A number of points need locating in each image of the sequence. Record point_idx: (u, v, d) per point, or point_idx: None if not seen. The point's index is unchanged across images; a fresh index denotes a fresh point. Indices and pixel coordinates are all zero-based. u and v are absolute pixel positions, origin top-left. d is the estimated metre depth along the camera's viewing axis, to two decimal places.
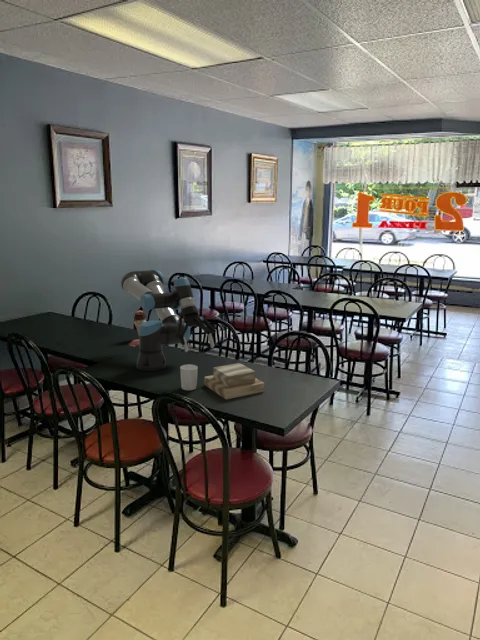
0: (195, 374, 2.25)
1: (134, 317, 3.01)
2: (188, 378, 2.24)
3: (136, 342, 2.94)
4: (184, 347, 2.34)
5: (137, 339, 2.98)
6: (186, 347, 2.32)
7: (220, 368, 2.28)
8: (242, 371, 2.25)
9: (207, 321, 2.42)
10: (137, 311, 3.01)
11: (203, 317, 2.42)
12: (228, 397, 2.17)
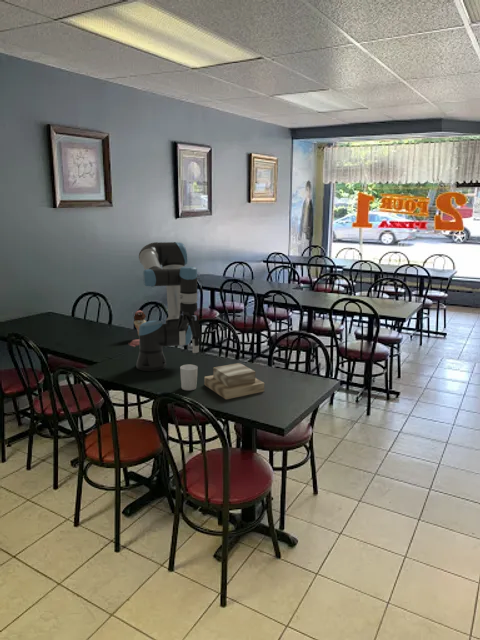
0: (195, 374, 2.25)
1: (134, 317, 3.02)
2: (188, 378, 2.24)
3: (136, 342, 2.94)
4: None
5: (137, 339, 2.98)
6: (179, 342, 2.29)
7: (220, 368, 2.28)
8: (242, 371, 2.25)
9: (193, 324, 2.15)
10: (137, 311, 3.02)
11: (192, 318, 2.16)
12: (228, 397, 2.17)
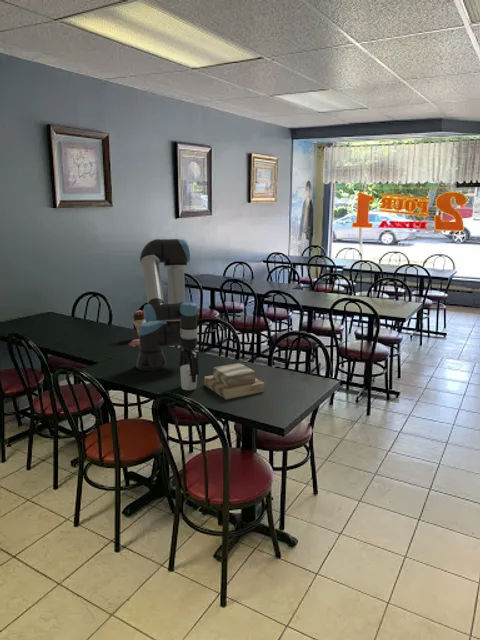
0: None
1: (134, 317, 3.02)
2: (188, 378, 2.24)
3: (136, 342, 2.95)
4: None
5: (137, 339, 2.98)
6: None
7: (220, 368, 2.28)
8: (242, 371, 2.25)
9: (192, 361, 2.20)
10: (136, 311, 3.02)
11: (191, 355, 2.20)
12: (228, 397, 2.17)
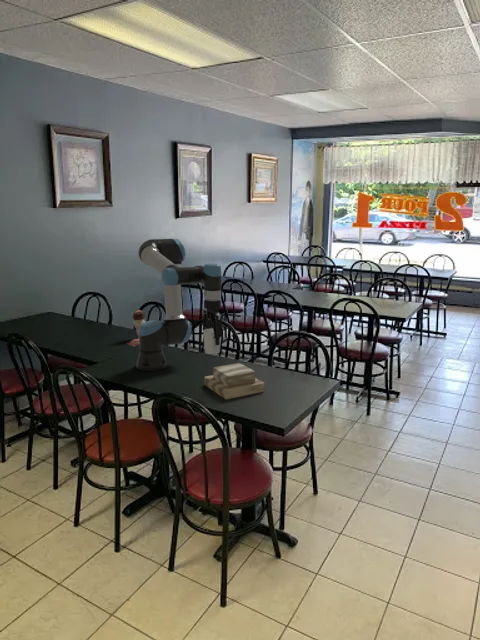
0: None
1: (133, 317, 3.02)
2: (212, 341, 2.20)
3: (136, 342, 2.95)
4: None
5: (137, 339, 2.98)
6: None
7: (220, 368, 2.28)
8: (242, 371, 2.25)
9: (216, 323, 2.16)
10: (136, 311, 3.02)
11: (215, 317, 2.16)
12: (228, 397, 2.17)
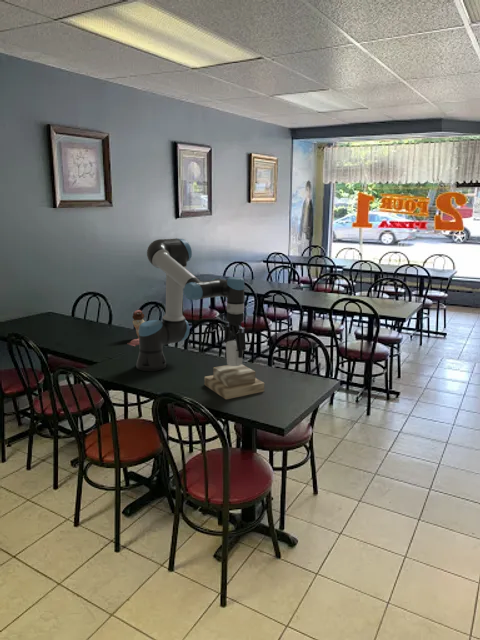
0: None
1: (133, 317, 3.02)
2: (234, 354, 2.22)
3: (136, 341, 2.95)
4: None
5: None
6: None
7: (220, 368, 2.28)
8: (242, 371, 2.25)
9: (239, 336, 2.18)
10: (136, 311, 3.02)
11: (239, 330, 2.18)
12: (228, 397, 2.17)
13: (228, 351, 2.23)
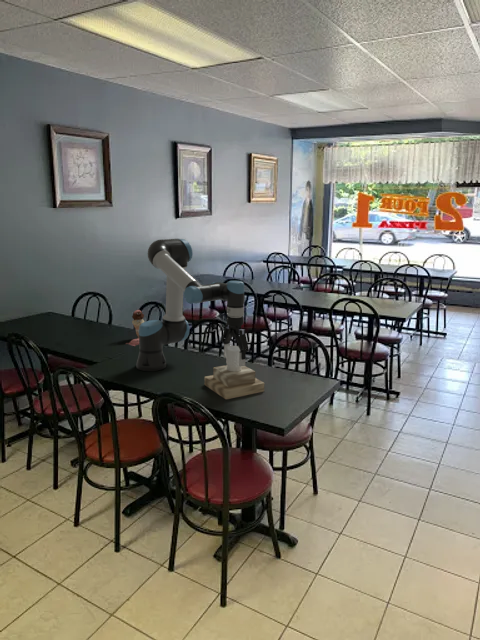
0: None
1: (132, 317, 3.02)
2: (234, 359, 2.23)
3: (136, 341, 2.95)
4: None
5: None
6: (224, 355, 2.32)
7: (220, 368, 2.28)
8: (242, 371, 2.25)
9: (240, 338, 2.17)
10: (135, 311, 3.02)
11: (239, 332, 2.18)
12: (228, 397, 2.17)
13: (228, 357, 2.23)
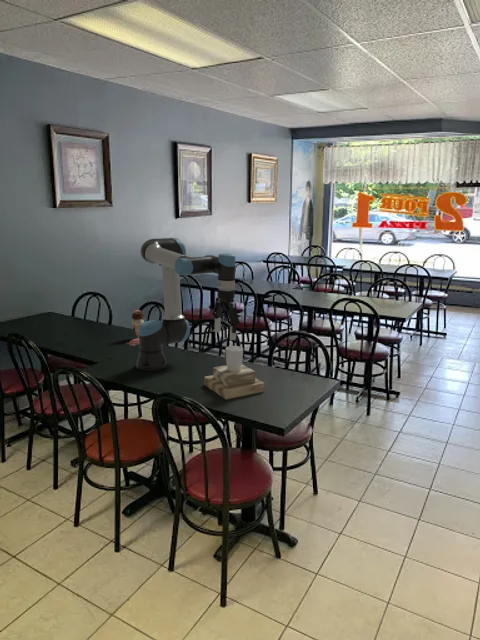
0: (241, 355, 2.24)
1: (132, 316, 3.03)
2: (234, 360, 2.23)
3: (136, 341, 2.96)
4: None
5: None
6: None
7: (220, 368, 2.28)
8: (242, 371, 2.25)
9: (231, 311, 2.15)
10: (135, 310, 3.03)
11: (230, 305, 2.16)
12: (228, 397, 2.17)
13: (228, 357, 2.23)
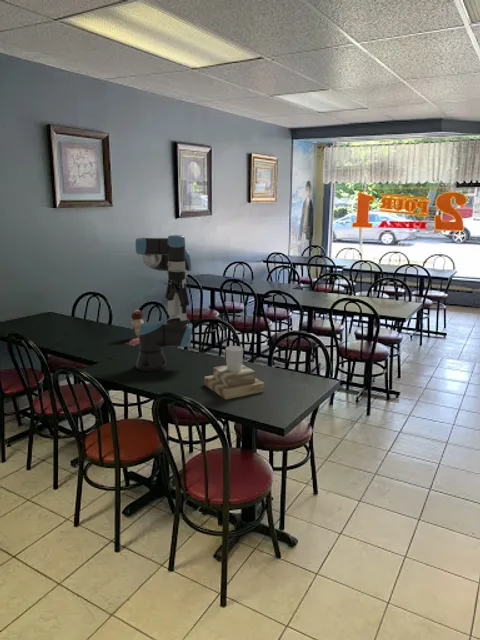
0: (241, 355, 2.24)
1: (132, 316, 3.03)
2: (234, 360, 2.23)
3: (136, 341, 2.96)
4: None
5: None
6: (168, 311, 2.32)
7: (220, 368, 2.28)
8: (242, 371, 2.25)
9: (181, 292, 2.18)
10: None
11: (179, 286, 2.18)
12: (228, 397, 2.17)
13: (228, 357, 2.23)
